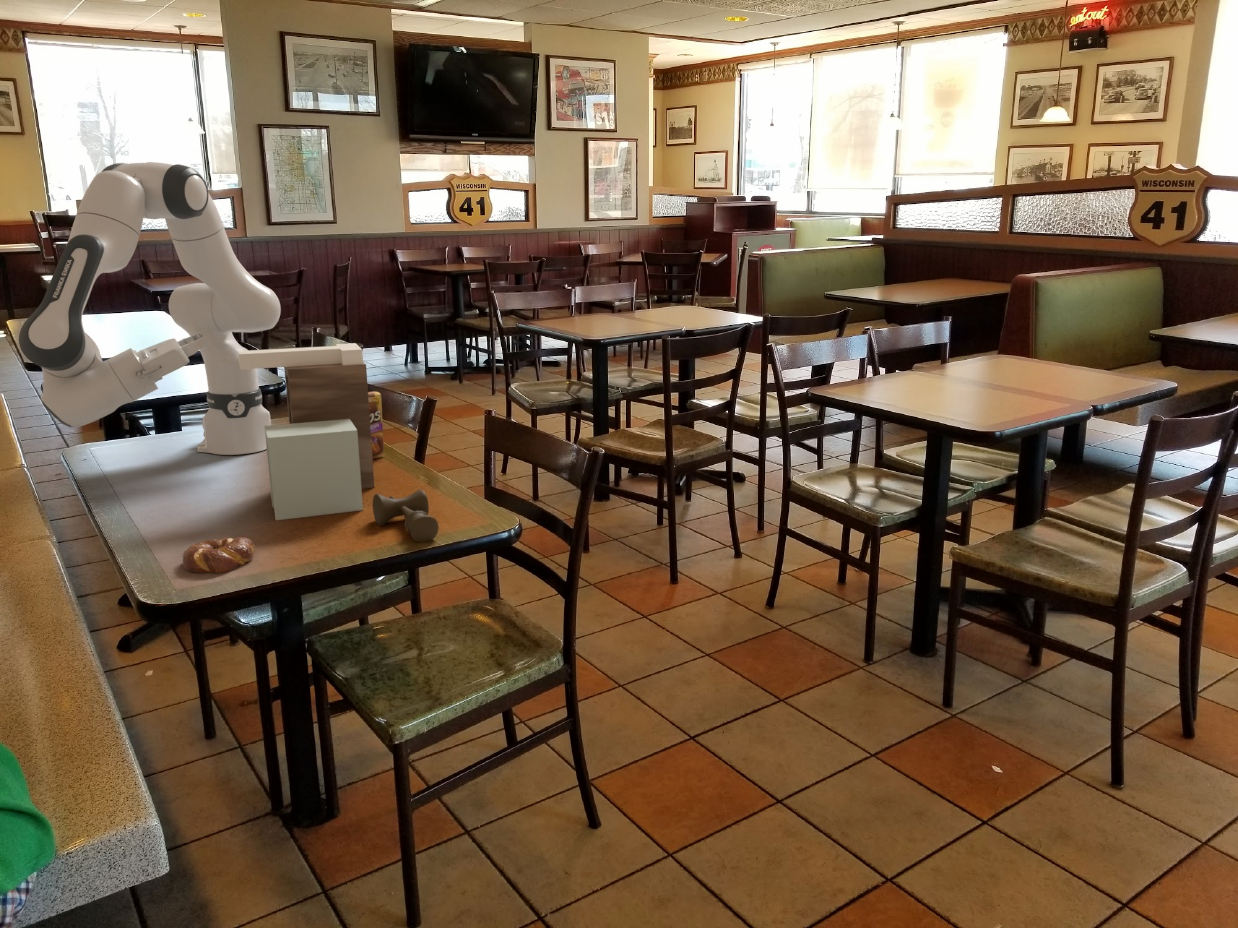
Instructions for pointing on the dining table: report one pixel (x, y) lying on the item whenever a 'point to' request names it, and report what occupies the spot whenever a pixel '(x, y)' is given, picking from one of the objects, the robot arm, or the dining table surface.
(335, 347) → the T-piece
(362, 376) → the tall stand
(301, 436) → the pale green rectangular block
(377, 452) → the candy box
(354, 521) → the dining table surface
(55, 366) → the robot arm
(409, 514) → the kendama
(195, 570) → the pretzel
